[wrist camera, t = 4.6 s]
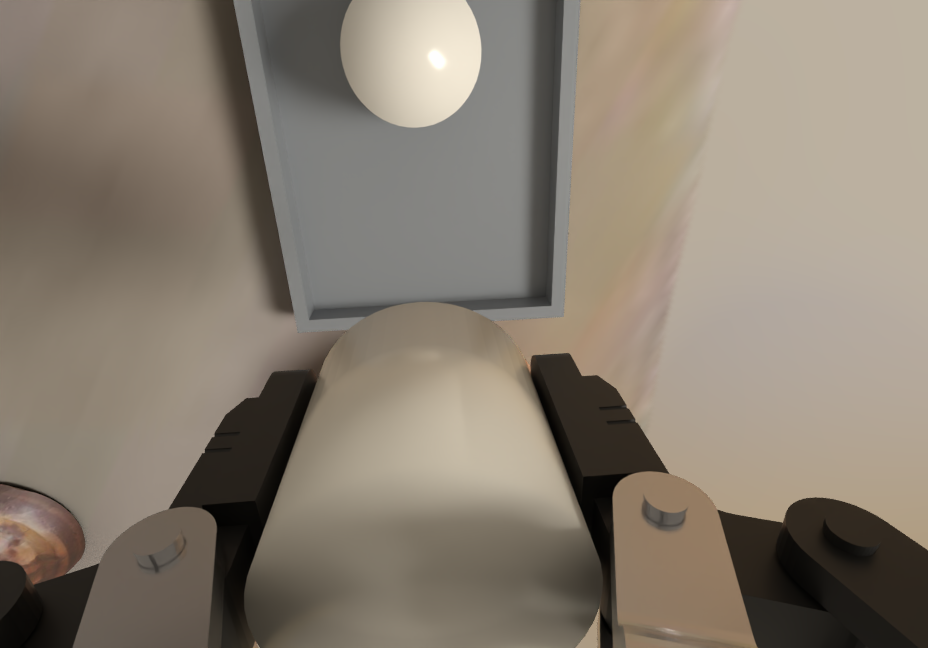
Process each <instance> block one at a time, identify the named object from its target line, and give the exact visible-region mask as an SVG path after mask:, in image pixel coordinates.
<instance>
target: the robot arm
mask: <svg viewBox="0 0 928 648" xmlns="http://www.w3.org/2000/svg"><path fill="white" fill-rule="evenodd" d="M530 374H531V377H532V380H533V382H534V385H535V388H536V390H537V393H538V396H539V399H540V401H541V404H542V407H543V409H544V412H545V415H546V417H547V420H548V423H549V425H550V428H551V431H552V433H553V436H554V439H555V441H556V444H557V447H558V450H559V452H560V455H561V458H562V460H563V463H564V466H565V468H566V471H567V474H568V476H569V479H570V482H571V484H572V487H573V490H574V492H575V495H576V498H577V500H578V503H579V506H580V509H581V511H582V514H583V517H584V519H585V522H586V525H587V527H588V530H589V533H590V535H591V538H592V541H593V543H594V546H595V549H596V552H597V554H598V557H599V560H600V563H601V569H602V575H603V589H602V597H601V601H600V606H599V613H598V622H597V648H928V550H927V549H925V548H923V547H922V546H921V545H919V544H918V543H916V542H915V541H913V540H912V539H910V538H909V537H908V536H906V535H905V534H903V533H902V532H900V531H899V530H897V529H896V528H894V527H893V526H891V525H890V524H889V523H887V522H886V521H884V520H882V519H881V518H879V517H878V516H876V515H874V514H872V513H870V512H868V511H866V510H864V509H862V508H859V507H857V506H855V505H851V504H848V503H845V502H842V501H838V500H834V499H827V498H806V499H802V500H799V501H797V502H795V503H793V504H792V505H791V506H790V507H789V508H788V510H787V512H786V515H785V518H784V521H783V523H781V522H775V521H770V520H763V519H757V518H752V517H746V516H740V515H735V514H730V513H726V512H723V511H720V510H717V508H716V506H715V505H714V503H713V502H712V500H711V499H710V498H709V497H708V496H707V494H705V493H704V492H703V491H702V490H701V489H700V488H698V487H697V486H695V485H694V484H692V483H690V482H688V481H686V480H684V479H682V478H680V477H677V476H674V475H671V474H669V472H668V471H667V469H666V468H665V466H664V464H663V463H662V461H661V460H660V458H659V457H658V455H657V454H656V452H655V450H654V448H653V447H652V445H651V444H650V442H649V440H648V439H647V437H646V436H645V434H644V432H643V431H642V429H641V428H640V426H639V425H638V423H636V422H635V418H634V417H633V415H632V413H631V412H630V410H629V409H627V407H626V404H625V402H624V401H623V399H622V397H621V396H620V394H619V393H618V391H617V389H616V388H614V387H613V386H611V385H610V384H609V383H607V382H606V381H604V380H603V379H602V378H600V377H599V376H597V375H595V376H582V375H581V374H580V372H579V370H578V368H577V366H576V364H575V362H574V360H573V359H572V357H571V355H570V354H569V353H563V354H547V355H533V356H532V359H531V368H530ZM316 382H317V379H316V376H315V373H314V371H313V370H311V369H309V370H294V371H278V372H273V373H272V374H271V376H270V377H269V379H268V381H267V383H266V385H265V387H264V389H263V391H262V392H261V394H260V396H259V398H246V399H245V400H244V401H242V402H241V403H240V404H239V405H237V406H236V407H235V408H234V409H233V410H231V411H230V412H229V413H228V414H226V415H225V417H224V419H223V420H222V422H221V424H220V425H219V427H218V429H217V430H216V432H215V433H214V434H215V437H212V438H211V440H210V442H209V443H208V445H207V447H206V448H205V453H202V455H201V457H200V458H199V460H198V462H197V463H196V465H195V466H194V468H193V470H192V471H191V473H190V475H189V476H188V478H187V480H186V481H185V483H184V485H183V486H182V488H181V490H180V491H179V493H178V494H177V496H176V498H175V499H174V501H173V503H172V504H171V506H170V508H169V509H168V510H165V511H162V512H158V513H156V514H154V515H151V516H149V517H147V518H145V519H143V520H141V521H139V522H138V523H136V524H134V525H133V526H131V527H130V528H129V529H127V530H126V531H125V532H123V533H122V534H121V535H120V536H119V537H118V538H117V539H116V540H115V541H114V542H113V543H112V544H111V545H110V546H109V548H108V549H107V550H106V552H105V553H104V555H103V557H102V559H101V561H100V563H99V564H97V565H94V566H91V567H88V568H85V569H81V570H78V571H75V572H72V573H69V574H66V575H63V576H59V577H56V578H53V579H50V580H47V581H44V582H41V583H37V584H34V585H33V583H32V582H31V580H30V578H29V577H28V575H27V573H26V572H25V570H24V568H23V567H22V566H21V565H19V564H18V563H15V562H12V561H0V648H258V645H257V643H256V641H255V639H254V637H253V635H252V633H251V630H250V628H249V626H248V623H247V618H246V614H245V609H244V591H245V585H246V580H247V575H248V572H249V570H250V567H251V564H252V561H253V558H254V556H255V553H256V550H257V547H258V544H259V542H260V539H261V536H262V533H263V530H264V528H265V525H266V522H267V519H268V516H269V514H270V511H271V508H272V505H273V502H274V500H275V497H276V494H277V491H278V488H279V486H280V483H281V480H282V477H283V474H284V472H285V469H286V466H287V463H288V461H289V458H290V455H291V452H292V449H293V447H294V444H295V441H296V438H297V435H298V433H299V430H300V427H301V424H302V421H303V419H304V416H305V413H306V410H307V407H308V405H309V402H310V399H311V396H312V393H313V391H314V388H315V385H316Z"/></svg>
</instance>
